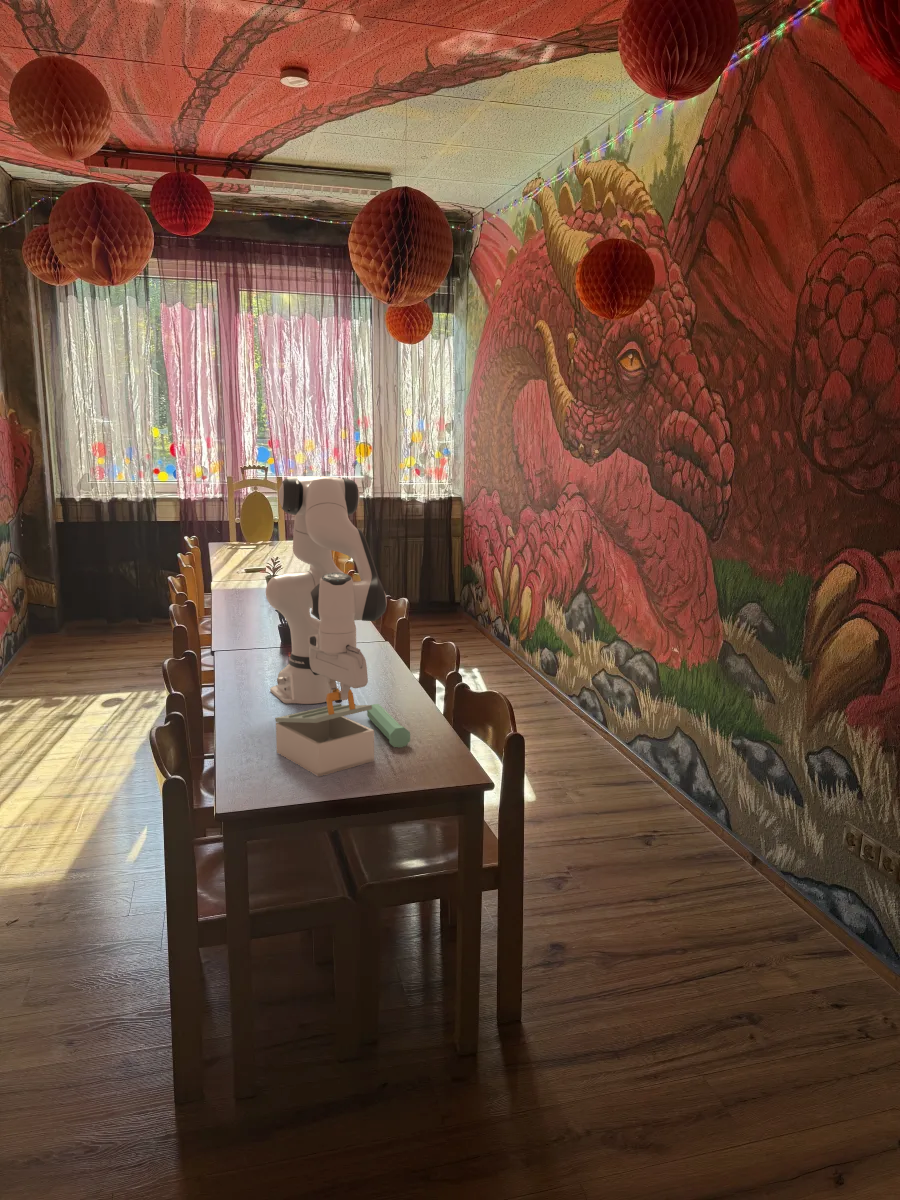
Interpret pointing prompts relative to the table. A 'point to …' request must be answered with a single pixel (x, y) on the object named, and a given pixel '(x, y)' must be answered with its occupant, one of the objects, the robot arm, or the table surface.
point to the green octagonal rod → (389, 726)
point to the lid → (326, 710)
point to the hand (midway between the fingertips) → (338, 697)
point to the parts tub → (326, 744)
